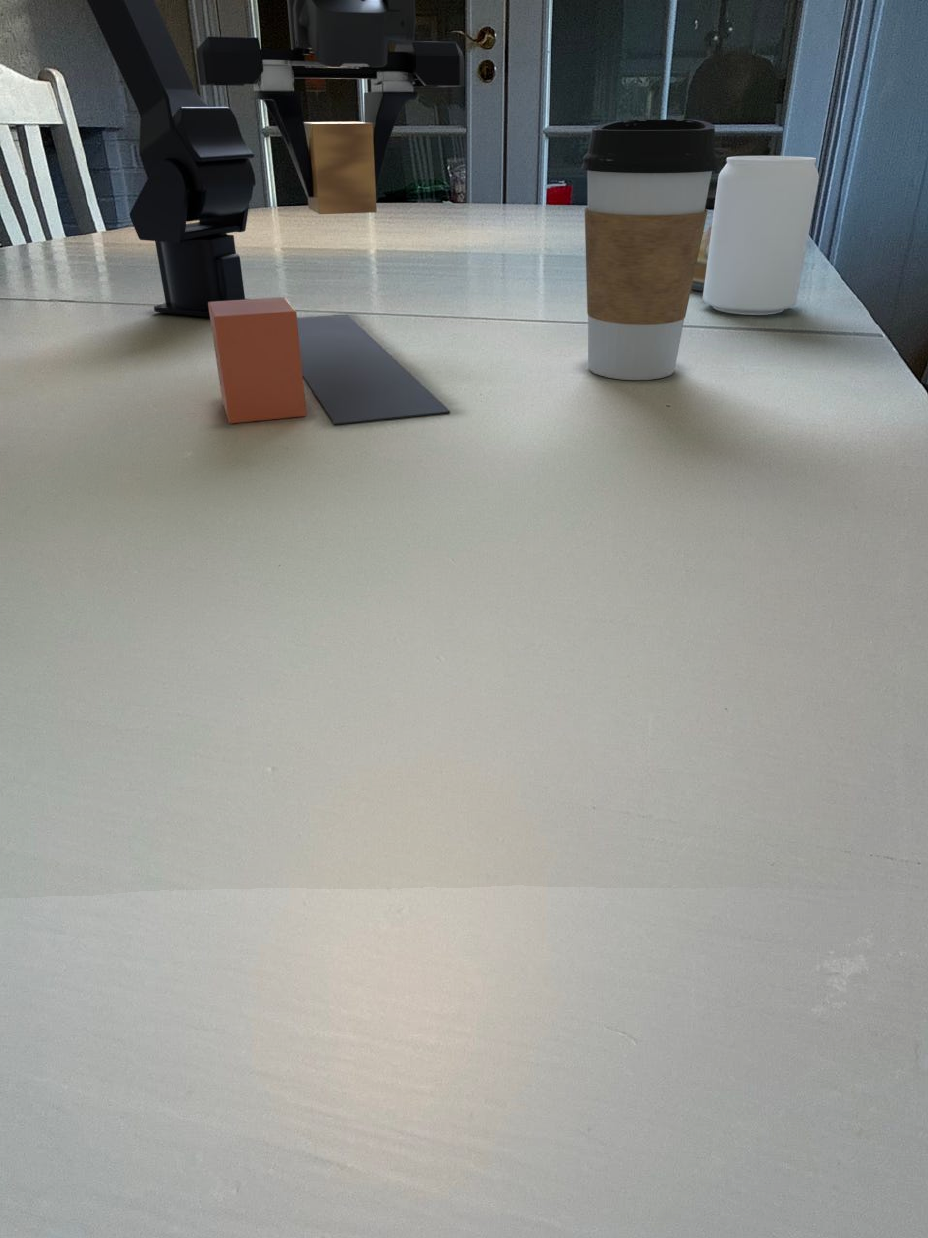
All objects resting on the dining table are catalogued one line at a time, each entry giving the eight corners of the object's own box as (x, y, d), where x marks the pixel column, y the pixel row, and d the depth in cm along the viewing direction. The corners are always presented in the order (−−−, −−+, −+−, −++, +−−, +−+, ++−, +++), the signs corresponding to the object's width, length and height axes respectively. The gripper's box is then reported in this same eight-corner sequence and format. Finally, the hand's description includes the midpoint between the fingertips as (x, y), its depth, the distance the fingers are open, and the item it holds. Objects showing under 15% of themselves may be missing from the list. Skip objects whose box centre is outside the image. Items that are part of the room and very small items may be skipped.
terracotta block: (229, 424, 50) (213, 316, 47) (222, 402, 54) (207, 301, 51) (306, 416, 51) (296, 310, 48) (295, 395, 55) (284, 296, 52)
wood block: (319, 214, 66) (312, 123, 63) (308, 208, 69) (301, 121, 66) (376, 212, 67) (372, 122, 64) (363, 206, 71) (358, 121, 68)
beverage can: (800, 318, 74) (829, 160, 68) (703, 315, 76) (723, 159, 70) (789, 300, 81) (815, 155, 75) (700, 298, 82) (718, 155, 76)
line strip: (450, 412, 52) (450, 411, 52) (334, 424, 50) (334, 423, 50) (347, 315, 76) (347, 314, 76) (267, 321, 74) (267, 320, 74)
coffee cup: (699, 359, 62) (730, 118, 55) (685, 390, 56) (718, 120, 48) (584, 350, 65) (599, 119, 57) (557, 379, 58) (569, 121, 50)
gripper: (192, -85, 51) (229, 210, 58) (492, -67, 56) (488, 201, 64) (181, -56, 60) (214, 196, 68) (440, -43, 65) (442, 189, 73)
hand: (340, 195), depth 68 cm, fingers closed on wood block, 4 cm apart
